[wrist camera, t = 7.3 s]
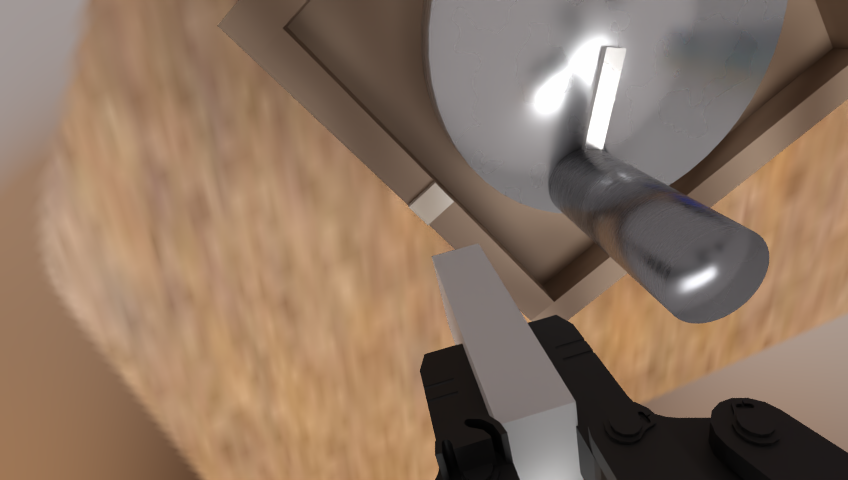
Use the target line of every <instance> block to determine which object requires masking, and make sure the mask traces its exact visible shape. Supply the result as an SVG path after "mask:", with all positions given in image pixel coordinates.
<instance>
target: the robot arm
mask: <svg viewBox="0 0 848 480" xmlns="http://www.w3.org/2000/svg"><path fill="white" fill-rule="evenodd" d="M432 260H433V264H434V268H435V272H436V276H437V280H438V284H439V288H440V292H441V296H442V300H443V304H444V308H445V312H446V316H447V320H448V324H449V327H450V330H451V333H452V336H453V339H454V341H455V344H456V345H455V346H451V347H448V348H445V349H441V350H438V351H434V352H431V353H427V354H425V355H424V358H423V362H422V365H421V369H420V373H421V377H422V381H423V386H424V390H425V395H426V399H427V403H428V408H429V412H430V416H431V421H432V425H433V429H434V434H435V438H436V441H435V456H436V459H437V462H438V465H439V472H438V475H437V477H436V479H435V480H583V479H584V480H848V453H847V452H846V451H844V450H842V449H841V448H839V447H838V446H836V445H835V444H833V443H832V442H830V441H828V440H827V439H825V438H824V437H822V436H821V435H819V434H818V433H816V432H814V431H813V430H811V429H810V428H808V427H807V426H805V425H803V424H802V423H800V422H799V421H797V420H796V419H794V418H792V417H791V416H790V415H788V414H786V413H785V412H783V411H782V410H780V409H778V408H776V407H774V406H772V405H770V404H768V403H766V402H762V401H758V400H754V399H749V398H731V399H728V400H725V401H723V402H720V403H719V404H718V405H717V406H716V407H715V408H714V409H713V410H712V414H711V418H672V417H664V416H660V415H657V414H654V413H653V412H652V411H651V410H649V409H648V408H647V407H644V406H642V405H640V404H638V403H636V402H633V401H632V400H631V399H630V398H629V397H628V396H627V395H626V393H625V392H624V391H623V389H622V388H621V387H620V385H619V384H618V383H617V382H616V380H615V379H614V378H613V376H612V375H611V374H610V372H609V371H608V370H607V368H606V367H605V366H604V364H603V363H602V362H601V360H600V359H599V358H598V356H597V355H596V354H595V353H593V350H592V349H591V347H590V346H589V345H588V343H587V342H586V341H584V338H583V337H582V335H581V334H580V333H579V331H578V330H577V329H576V328H575V326H574V325H573V324H572V323H570V322H568V321H566V320H565V319H563V318H561V317H560V316H558V315H553V316H550V317H546V318H543V319H540V320H536V321H533V322H529V323H527V322H526V320H525V318H524V317H523V315H522V313H521V312H520V310H519V309H518V307H517V305H516V304H515V302H514V300H513V299H512V297H511V295H510V294H509V292H508V291H507V289H506V287H505V286H504V284H503V282H502V281H501V279H500V278H499V276H498V274H497V273H496V271H495V269H494V268H493V266H492V265H491V263H490V261H489V260H488V258H487V256H486V255H485V253H484V252H483V250H482V248H481V247H480V245H479V243H478V244H474V245H471V246H467V247H463V248H460V249H456V250H453V251H449V252H446V253H442V254H439V255H435V256H432Z"/></svg>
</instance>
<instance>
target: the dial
mask: <svg viewBox="0 0 848 480" xmlns="http://www.w3.org/2000/svg"><path fill="white" fill-rule="evenodd" d="M787 2H788V0H424V6H423V14H422V23H421V56H422V65H423V73H424V79H425V83H426V87H427V91H428V95H429V99H430V101H431V104H432V106H433V109H434V111H435V114H436V117H437V119H438V121H439V123H440V125H441V126H442V128H443V130H444V132H445V134H446V135H447V137H448V139H449V140H450V141H451V143H452V144H453V145H454V147H455V148H456V149H457V151H458V152H459V153H460V154H461V156H462V157H463V158H464V159H465V161H466V162H467V163H468V164H469V165H470V167H471V168H472V169H473V170H474V171H475V172H476V173H477V174H478V175H479V176H480V177H481V178H482V179H483V180H484V181H485V182H487V183H488V184H489V185H491V186H492V187H493V188H495V189H496V190H497V191H499V192H500V193H502V194H503V195H505V196H507V197H509V198H511V199H513V200H515V201H517V202H518V203H521V204H524V205H527V206H529V207H532V208H535V209H539V210H543V211H548V212H553V213H563V214H564V215H565V216H566V217H567V218H569V219H570V220H571V221H572V222H573V223H574V224H575V225H576V226H577V227H578V228H579V229H581V230H582V231H583V232H584V233H585V234H586V235H587V236H588V237H589V238H590V239H591V240H592V241H594V242H595V243H596V244H597V245H598V246H599V247H600V248H601V249H602V250H603V251H604V252H606V253H607V254H608V255H609V256H610V257H611V258H612V259H613V260H614V261H615V262H616V263H617V264H619V265H620V266H621V267H622V268H623V269H624V270H625V271H626V272H627V273H628V274H629V275H631V276H632V277H633V278H634V279H635V280H636V281H637V282H638V283H639V284H640V285H641V286H642V287H644V288H645V289H646V290H647V291H648V292H649V293H650V294H651V295H652V296H653V297H654V298H656V299H657V300H658V301H659V302H660V303H661V304H662V305H663V306H664V307H665V308H666V309H667V310H669V311H670V312H671V313H672V314H673V315H674V316H675V317H677V318H678V319H680V320H682V321H685V322H688V323H707V322H711V321H715V320H718V319H720V318H723V317H725V316H727V315H729V314H731V313H732V312H734V311H735V310H737V309H738V308H739V307H741V306H742V305H743V304H744V303H746V302H747V301H748V300H749V299H750V298H751V297H752V295H753V294H754V293H755V292H756V291H757V289H758V288H759V286H760V285H761V283H762V281H763V279H764V277H765V275H766V272H767V269H768V265H769V251H768V247H767V245H766V242H765V241H764V239H763V238H762V237H761V236H760V235H758V234H757V233H755V232H754V231H752V230H750V229H748V228H746V227H744V226H742V225H741V224H739V223H737V222H735V221H733V220H731V219H729V218H728V217H726V216H724V215H722V214H720V213H718V212H716V211H715V210H713V209H711V208H709V207H707V206H705V205H703V204H702V203H700V202H698V201H696V200H694V199H692V198H690V197H689V196H687V195H685V194H683V193H681V192H679V191H677V190H676V189H674V188H672V187H670V186H669V185H670V184H672V183H673V182H675V181H676V180H678V179H679V178H680V177H682V176H683V175H685V174H686V173H687V172H689V171H690V170H691V169H692V168H694V167H695V166H696V165H697V164H698V163H699V162H700V161H702V160H703V159H704V158H705V157H706V156H707V155H708V154H709V153H710V152H711V151H712V150H713V149H714V148H715V147H716V146H717V145H718V144H719V143H720V142H721V141H722V140H723V139H724V137H725V136H726V135H727V133H728V132H729V131H730V130H731V128H732V127H733V126H734V125H735V123H736V122H737V121H738V120H739V118H740V117H741V115H742V114H743V112H744V110H745V109H746V107H747V106H748V104H749V103H750V101H751V100H752V98H753V96H754V94H755V93H756V91H757V89H758V87H759V85H760V83H761V81H762V79H763V78H764V76H765V73H766V71H767V68H768V66H769V64H770V61H771V59H772V57H773V54H774V52H775V48H776V45H777V42H778V39H779V36H780V33H781V29H782V26H783V21H784V16H785V11H786V7H787Z"/></svg>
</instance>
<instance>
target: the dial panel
mask: <svg viewBox="0 0 848 480" xmlns="http://www.w3.org/2000/svg"><path fill="white" fill-rule="evenodd" d="M423 6H424V0H239V1H238V2H237V3H236V4H235V5H234V7H233V8H232V9H231V10H230V11H229V13H228V14H227V15H226V16H225V17H224V18H223V20H222V21H221V22H220V23H219V24H218V25H217V26H218V27H219V28H220V29H222V30H223V31H224V32H225V33H226V34H227V35H228V36H229V37H230V38H231V39H232V40H233V41H234V42H235V43H236V44H237V45H239V46H240V47H241V48H242V49H243V50H244V51H245V52H246V53H247V54H248V55H249V56H250V57H251V58H252V59H253V60H254V61H256V62H257V63H258V64H259V65H260V66H261V67H262V68H263V69H264V70H265V71H266V72H267V73H268V74H269V75H270V76H271V77H273V78H274V79H275V80H276V81H277V82H278V83H279V84H280V85H281V86H282V87H283V88H284V89H285V90H286V91H287V92H288V93H290V94H291V95H292V96H293V97H294V98H295V99H296V100H297V101H298V102H299V103H300V104H301V105H302V106H303V107H304V108H305V109H307V110H308V111H309V112H310V113H311V114H312V115H313V116H314V117H315V118H316V119H317V120H318V121H319V122H320V123H321V124H322V125H324V126H325V127H326V128H327V129H328V130H329V131H330V132H331V133H332V134H333V135H334V136H335V137H336V138H337V139H338V140H339V141H341V142H342V143H343V144H344V145H345V146H346V147H347V148H348V149H349V150H350V151H351V152H352V153H353V154H354V155H355V156H356V157H358V158H359V159H360V160H361V161H362V162H363V163H364V164H365V165H366V166H367V167H368V168H369V169H370V170H371V171H372V172H373V173H375V174H376V175H377V176H378V177H379V178H380V179H381V180H382V181H383V182H384V183H385V184H386V185H387V186H388V187H389V188H390V189H392V190H393V191H394V192H395V193H396V194H397V195H398V196H399V197H400V198H401V199H402V200H403V201H404V202H405V203H406V204H407V205H408V206H409V208H410V209H411V210H412V211H413V212H414V213H416V214H417V215H418V216H419V217H420V218H421V219H422V220H423V221H424V222H425V223H426V224H427V225H430V226H431V227H432V228H433V229H434V230H435V231H436V232H437V233H438V234H439V235H440V236H441V237H443V238H444V239H445V240H446V241H447V242H448V243H449V244H450V245H451V246H452V247H453V248H454V249H455V250H456V249H460V248H463V247H467V246H471V245H474V244H478V243H479V245H480V247H481V248H482V250H483V252H484V253H485V255H486V256H487V258H488V260H489V261H490V263H491V265H492V266H493V268H494V269H495V271H496V273H497V274H498V276H499V278H500V279H501V281H502V282H503V284H504V286H505V287H506V289H507V291H508V292H509V294H510V295H511V297H512V299H513V300H514V302H515V304H516V305H517V307H518V309H519V310H520V311H521V312H522V313H523V314H524V315H525V316H527V317H528V318H529V319H530V320H531V321H532V322H533V321H536V320H540V319H543V318H546V317H550V316H553V315H558V316H560V317H561V318H563V319H565V320H566V321H567V320H569V319H570V318H571V317H573V316H574V315H575V314H576V313H578V312H579V311H580V310H581V309H583V308H584V307H585V306H586V305H588V304H589V303H590V302H591V301H593V300H594V299H595V298H597V297H598V296H599V295H600V294H602V293H603V292H604V291H605V290H607V289H608V288H609V287H610V286H612V285H613V284H614V283H616V282H617V281H618V280H619V279H621V278H622V277H623V276H624V275H626V274H627V272H626V271H625V270H624V269H623V268H622V267H621V266H620V265H619V264H617V263H616V262H615V261H614V260H613V259H612V258H611V257H610V256H609V255H608V254H607V253H606V252H604V251H603V250H602V249H601V248H600V247H599V246H598V245H597V244H596V243H595V242H594V241H592V240H591V239H590V238H589V237H588V236H587V235H586V234H585V233H584V232H583V231H582V230H581V229H579V228H578V227H577V226H576V225H575V224H574V223H573V222H572V221H571V220H570V219H569V218H567V217H566V216H565V215H564V214H563V213H553V212H548V211H543V210H539V209H535V208H532V207H529V206H527V205H524V204H521V203H518V202H517V201H515V200H513V199H511V198H509V197H507V196H505V195H503V194H502V193H500V192H499V191H497V190H496V189H495V188H493V187H492V186H491V185H489V184H488V183H487V182H485V181H484V180H483V179H482V178H481V177H480V176H479V175H478V174H477V173H476V172H475V171H474V170H473V169H472V168H471V167H470V165H469V164H468V163H467V162H466V161H465V159H464V158H463V157H462V156H461V154H460V153H459V152H458V151H457V149H456V148H455V147H454V145H453V144H452V143H451V141H450V140H449V139H448V137H447V135H446V134H445V132H444V130H443V128H442V126H441V125H440V123H439V121H438V119H437V117H436V114H435V111H434V109H433V106H432V104H431V101H430V99H429V95H428V91H427V87H426V83H425V79H424V73H423V65H422V56H421V23H422V14H423ZM847 99H848V0H788V2H787V7H786V11H785V16H784V21H783V26H782V29H781V33H780V36H779V39H778V42H777V45H776V48H775V52H774V54H773V57H772V59H771V61H770V64H769V66H768V68H767V71H766V73H765V76H764V78H763V79H762V81H761V83H760V85H759V87H758V89H757V91H756V93H755V94H754V96H753V98H752V100H751V101H750V103H749V104H748V106H747V107H746V109H745V110H744V112H743V114H742V115H741V117H740V118H739V120H738V121H737V122H736V123H735V125H734V126H733V127H732V128H731V130H730V131H729V132H728V133H727V135H726V136H725V137H724V139H723V140H722V141H721V142H720V143H719V144H718V145H717V146H716V147H715V148H714V149H713V150H712V151H711V152H710V153H709V154H708V155H707V156H706V157H705V158H704V159H703V160H702V161H700V162H699V163H698V164H697V165H696V166H695V167H694V168H692V169H691V170H690V171H689V172H687V173H686V174H685V175H683V176H682V177H680V178H679V179H678V180H676V181H675V182H673V183H672V184H670V185H669V186H670V187H672V188H674V189H676V190H677V191H679V192H681V193H683V194H685V195H687V196H689V197H690V198H692V199H694V200H696V201H698V202H700V203H702V204H703V205H705V206H707V207H709V208H710V207H712V206H713V205H714V204H715V203H717V202H718V201H719V200H721V199H722V198H723V197H724V196H726V195H727V194H728V193H729V192H731V191H732V190H733V189H734V188H736V187H737V186H738V185H740V184H741V183H742V182H743V181H745V180H746V179H747V178H748V177H750V176H751V175H752V174H753V173H755V172H756V171H757V170H759V169H760V168H761V167H762V166H764V165H765V164H766V163H767V162H769V161H770V160H771V159H772V158H774V157H775V156H776V155H777V154H779V153H780V152H781V151H783V150H784V149H785V148H786V147H788V146H789V145H790V144H791V143H793V142H794V141H795V140H796V139H798V138H799V137H800V136H802V135H803V134H804V133H805V132H807V131H808V130H809V129H810V128H812V127H813V126H814V125H815V124H817V123H818V122H819V121H821V120H822V119H823V118H824V117H826V116H827V115H828V114H829V113H831V112H832V111H833V110H834V109H836V108H837V107H838V106H839V105H841V104H842V103H843V102H845V101H846V100H847Z"/></svg>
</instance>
